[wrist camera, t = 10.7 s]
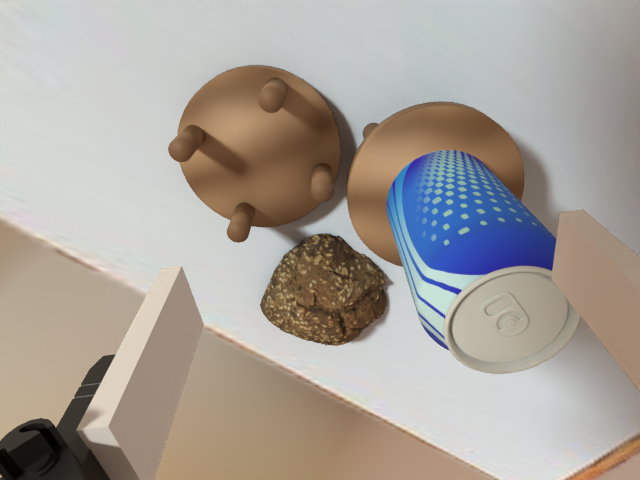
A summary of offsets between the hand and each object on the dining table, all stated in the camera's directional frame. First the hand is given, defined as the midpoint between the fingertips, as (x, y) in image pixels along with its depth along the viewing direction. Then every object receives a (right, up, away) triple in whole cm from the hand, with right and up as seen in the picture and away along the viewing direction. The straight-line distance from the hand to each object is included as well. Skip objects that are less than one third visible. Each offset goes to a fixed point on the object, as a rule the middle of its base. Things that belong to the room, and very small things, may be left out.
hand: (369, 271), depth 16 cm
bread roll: (-1, -4, +32) cm, 33 cm away
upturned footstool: (-7, +9, +24) cm, 27 cm away
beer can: (+8, +5, +20) cm, 22 cm away
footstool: (+7, +8, +25) cm, 27 cm away
